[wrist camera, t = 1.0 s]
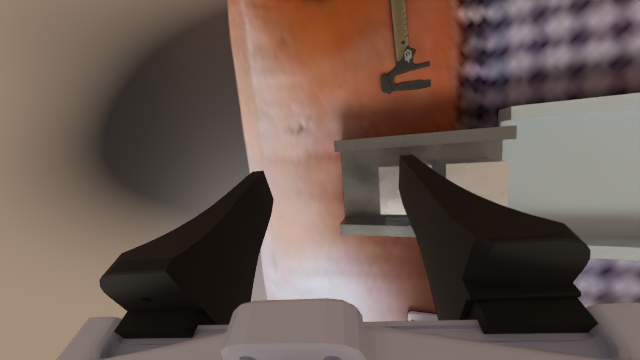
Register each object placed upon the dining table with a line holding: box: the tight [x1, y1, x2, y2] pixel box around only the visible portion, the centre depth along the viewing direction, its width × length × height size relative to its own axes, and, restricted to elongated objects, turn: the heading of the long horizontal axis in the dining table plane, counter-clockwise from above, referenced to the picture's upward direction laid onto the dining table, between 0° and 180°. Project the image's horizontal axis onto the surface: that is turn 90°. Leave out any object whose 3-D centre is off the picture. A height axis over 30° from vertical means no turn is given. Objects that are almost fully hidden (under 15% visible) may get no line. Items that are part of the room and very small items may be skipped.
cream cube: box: [379, 161, 432, 215], centre depth 21 cm, size 4×4×4 cm
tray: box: [498, 93, 640, 261], centre depth 18 cm, size 12×13×2 cm
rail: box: [334, 125, 517, 237], centre depth 22 cm, size 9×14×4 cm, turn 95°
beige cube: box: [438, 158, 509, 207], centre depth 20 cm, size 4×4×4 cm
